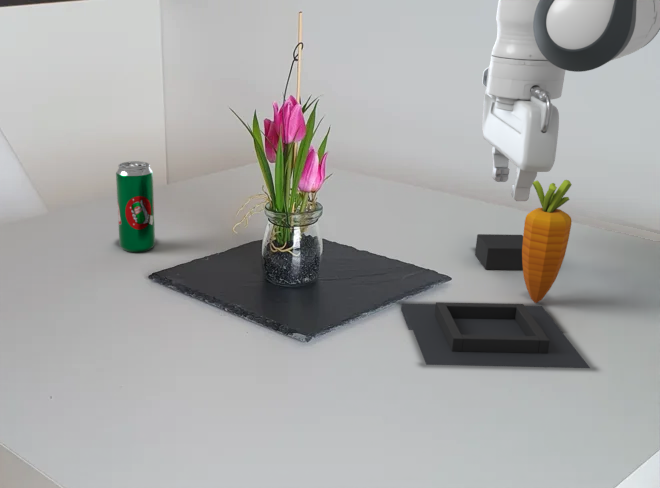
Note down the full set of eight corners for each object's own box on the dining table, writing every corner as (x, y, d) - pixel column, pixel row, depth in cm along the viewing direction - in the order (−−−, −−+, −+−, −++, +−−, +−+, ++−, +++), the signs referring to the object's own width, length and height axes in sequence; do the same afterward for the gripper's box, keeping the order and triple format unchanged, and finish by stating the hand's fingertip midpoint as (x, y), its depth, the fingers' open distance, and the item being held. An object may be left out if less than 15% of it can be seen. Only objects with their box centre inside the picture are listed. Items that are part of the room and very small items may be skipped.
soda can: (129, 240, 122) (125, 159, 118) (160, 244, 120) (158, 162, 116) (113, 251, 118) (109, 167, 113) (146, 255, 116) (143, 170, 112)
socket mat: (540, 312, 97) (543, 293, 96) (590, 376, 82) (594, 354, 81) (400, 309, 98) (402, 291, 97) (424, 372, 83) (426, 351, 82)
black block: (519, 255, 115) (522, 234, 114) (531, 270, 109) (535, 248, 108) (474, 254, 115) (477, 234, 114) (485, 269, 110) (488, 248, 109)
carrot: (504, 299, 100) (521, 176, 95) (534, 292, 102) (552, 171, 97) (536, 313, 96) (556, 186, 90) (567, 305, 98) (588, 180, 93)
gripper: (580, 94, 94) (560, 213, 99) (527, 70, 112) (512, 171, 118) (523, 93, 94) (505, 212, 99) (479, 69, 113) (467, 170, 118)
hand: (509, 189), depth 109 cm, fingers open, 8 cm apart
